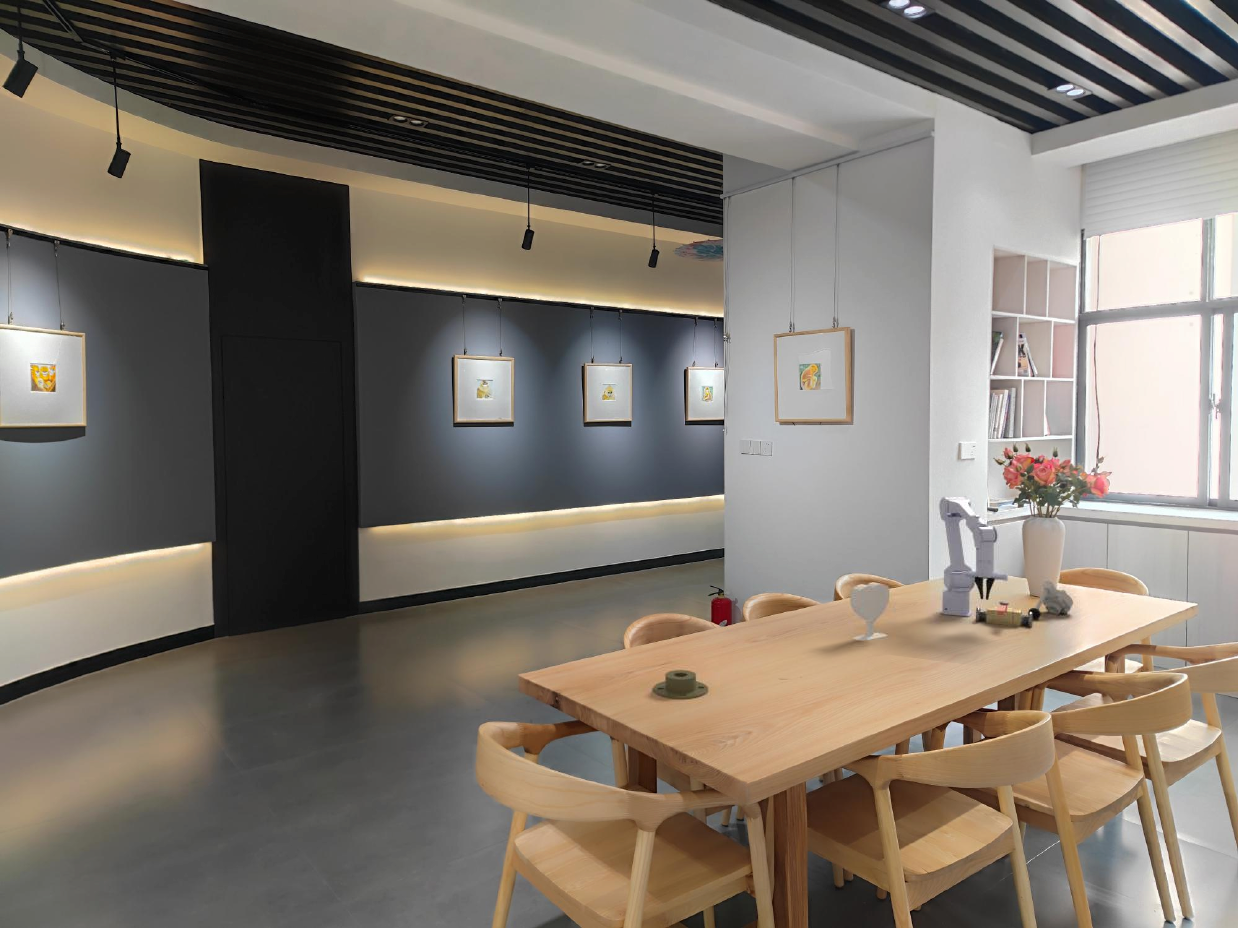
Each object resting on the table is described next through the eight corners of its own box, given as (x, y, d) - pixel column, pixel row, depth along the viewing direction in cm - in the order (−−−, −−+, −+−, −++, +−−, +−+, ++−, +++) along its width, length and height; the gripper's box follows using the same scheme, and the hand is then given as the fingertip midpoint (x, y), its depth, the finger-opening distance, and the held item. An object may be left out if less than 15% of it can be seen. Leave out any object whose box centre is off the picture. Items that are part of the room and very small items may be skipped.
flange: (703, 665, 230) (651, 667, 230) (711, 682, 215) (655, 683, 215) (704, 682, 231) (651, 683, 230) (711, 699, 216) (655, 701, 215)
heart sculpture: (879, 631, 281) (879, 580, 280) (891, 634, 276) (891, 582, 276) (848, 638, 273) (848, 585, 272) (859, 641, 268) (859, 588, 267)
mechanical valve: (1078, 606, 302) (1062, 578, 297) (1060, 643, 294) (1043, 615, 289) (1051, 603, 310) (1035, 576, 305) (1033, 639, 303) (1016, 612, 298)
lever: (999, 607, 292) (999, 601, 292) (1009, 607, 290) (1009, 602, 290) (996, 614, 280) (996, 608, 280) (1005, 615, 279) (1005, 609, 279)
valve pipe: (975, 625, 292) (975, 608, 292) (977, 621, 297) (977, 604, 297) (1031, 630, 283) (1031, 613, 283) (1032, 627, 288) (1032, 609, 288)
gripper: (961, 561, 284) (960, 599, 285) (1006, 564, 277) (1006, 603, 277) (963, 557, 290) (963, 595, 291) (1008, 560, 283) (1008, 599, 283)
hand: (984, 599), depth 284 cm, fingers closed
